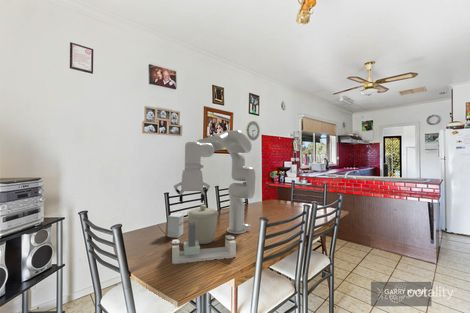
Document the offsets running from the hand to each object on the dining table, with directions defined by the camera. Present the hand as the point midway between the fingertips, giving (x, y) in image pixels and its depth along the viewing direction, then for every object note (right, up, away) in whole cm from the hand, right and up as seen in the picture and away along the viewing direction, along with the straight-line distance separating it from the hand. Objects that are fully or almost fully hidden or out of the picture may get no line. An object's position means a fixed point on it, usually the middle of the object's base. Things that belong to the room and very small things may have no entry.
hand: (191, 202), depth 112 cm
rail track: (+6, -27, +2) cm, 27 cm away
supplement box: (-16, -26, +30) cm, 43 cm away
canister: (+2, -27, +22) cm, 35 cm away
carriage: (0, -23, 0) cm, 23 cm away
